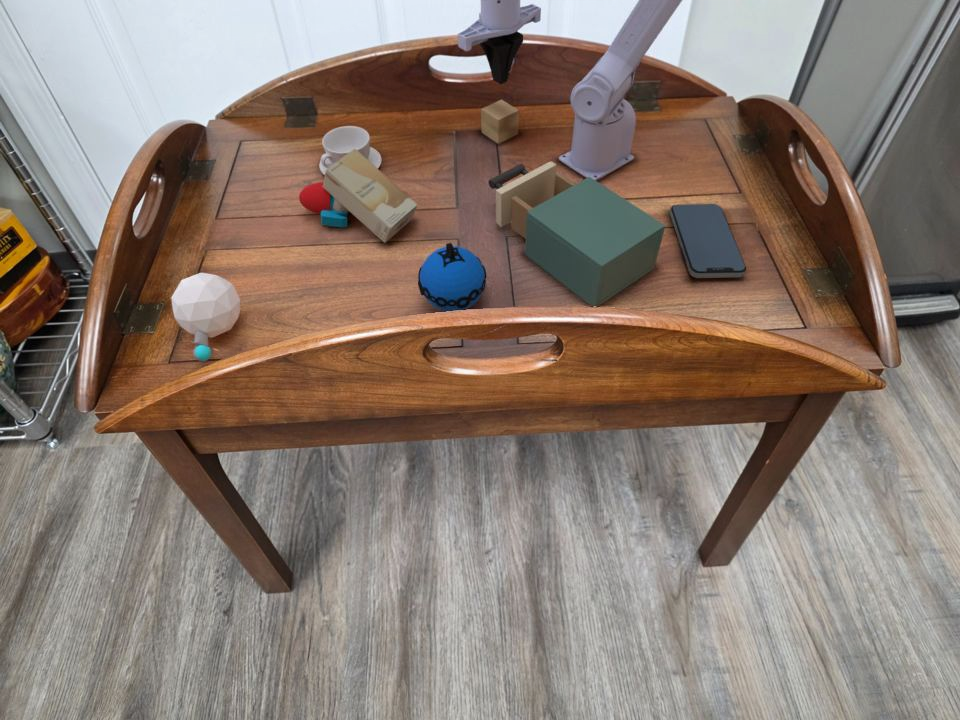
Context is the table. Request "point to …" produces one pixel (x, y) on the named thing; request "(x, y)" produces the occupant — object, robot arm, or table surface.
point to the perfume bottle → (205, 309)
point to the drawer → (525, 193)
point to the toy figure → (324, 205)
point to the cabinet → (592, 240)
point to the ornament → (452, 278)
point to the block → (499, 121)
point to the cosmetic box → (369, 195)
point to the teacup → (347, 146)
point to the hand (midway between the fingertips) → (500, 80)
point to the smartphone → (707, 241)
